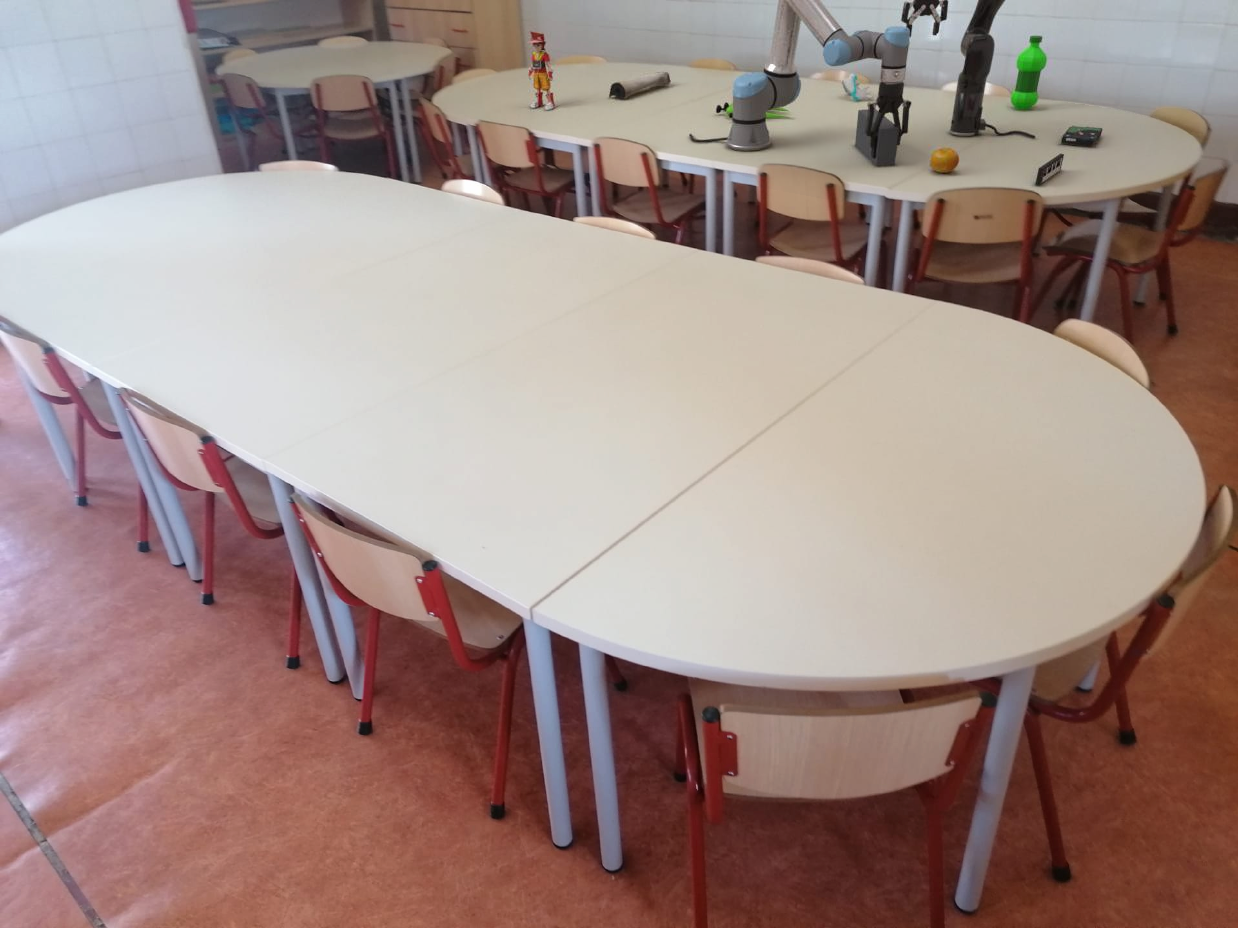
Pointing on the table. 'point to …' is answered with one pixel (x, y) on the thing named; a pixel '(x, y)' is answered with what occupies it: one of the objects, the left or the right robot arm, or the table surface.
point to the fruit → (944, 160)
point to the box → (885, 139)
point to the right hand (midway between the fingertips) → (921, 36)
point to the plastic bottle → (1028, 75)
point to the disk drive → (1081, 136)
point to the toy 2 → (730, 111)
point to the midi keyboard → (1049, 169)
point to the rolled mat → (638, 84)
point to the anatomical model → (855, 88)
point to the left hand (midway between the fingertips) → (883, 156)
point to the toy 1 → (541, 71)
